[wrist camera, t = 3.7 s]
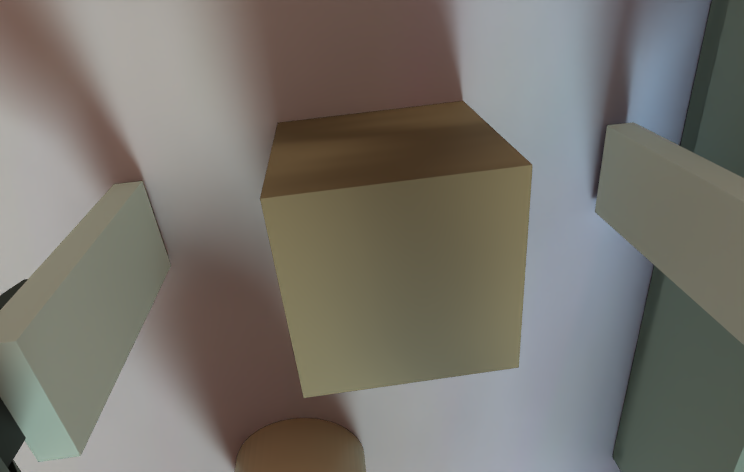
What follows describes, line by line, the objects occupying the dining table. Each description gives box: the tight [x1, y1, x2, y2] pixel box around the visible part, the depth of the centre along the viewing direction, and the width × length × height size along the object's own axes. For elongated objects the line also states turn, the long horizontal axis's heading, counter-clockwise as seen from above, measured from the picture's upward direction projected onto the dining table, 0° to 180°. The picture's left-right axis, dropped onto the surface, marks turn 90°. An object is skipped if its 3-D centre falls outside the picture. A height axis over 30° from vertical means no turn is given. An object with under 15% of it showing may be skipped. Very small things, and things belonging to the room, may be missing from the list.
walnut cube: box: [260, 101, 532, 398], centre depth 12 cm, size 5×5×5 cm
